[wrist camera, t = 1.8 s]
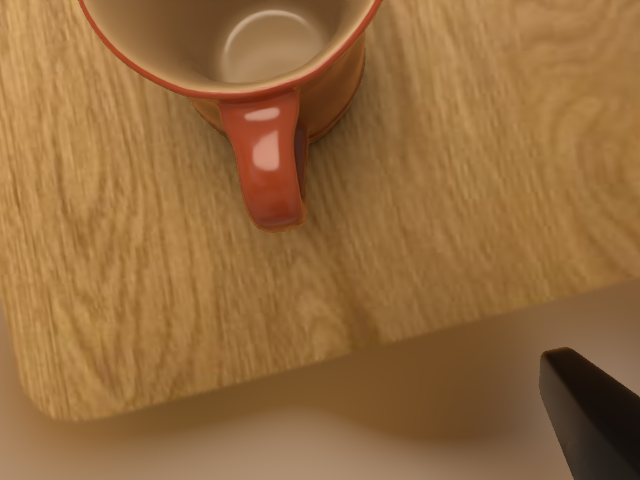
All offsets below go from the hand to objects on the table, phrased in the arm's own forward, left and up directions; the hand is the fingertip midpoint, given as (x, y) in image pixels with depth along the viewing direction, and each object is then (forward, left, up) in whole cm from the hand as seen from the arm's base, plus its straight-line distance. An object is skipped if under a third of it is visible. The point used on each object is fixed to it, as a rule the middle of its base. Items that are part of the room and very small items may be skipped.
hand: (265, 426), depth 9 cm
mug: (+8, -6, -15) cm, 18 cm away
